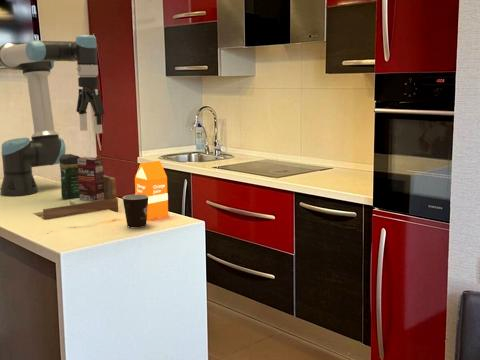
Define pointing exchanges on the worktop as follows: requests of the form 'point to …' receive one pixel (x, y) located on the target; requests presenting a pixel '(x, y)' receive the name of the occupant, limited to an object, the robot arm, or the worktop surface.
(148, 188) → the orange juice
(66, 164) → the coffee jar
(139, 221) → the coffee mug
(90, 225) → the worktop surface
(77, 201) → the bookend
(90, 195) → the supplement box
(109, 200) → the shelf
